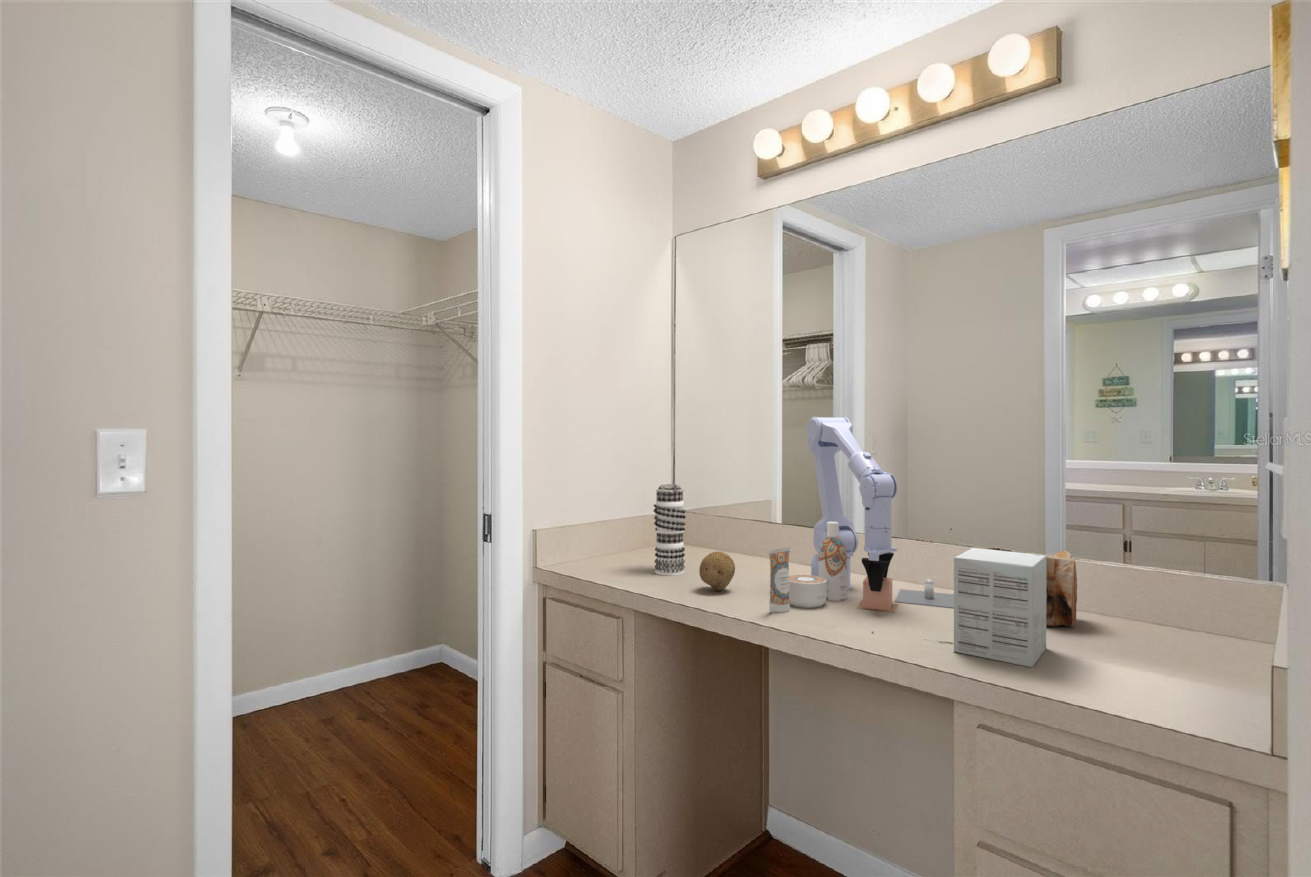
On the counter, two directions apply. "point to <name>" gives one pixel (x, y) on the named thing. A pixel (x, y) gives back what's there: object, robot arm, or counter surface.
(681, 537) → the decorative candle
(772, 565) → the cosmetic set
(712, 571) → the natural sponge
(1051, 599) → the stone
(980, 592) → the supplement box
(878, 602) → the terracotta collar
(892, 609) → the walnut stand
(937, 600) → the board
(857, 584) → the counter surface
